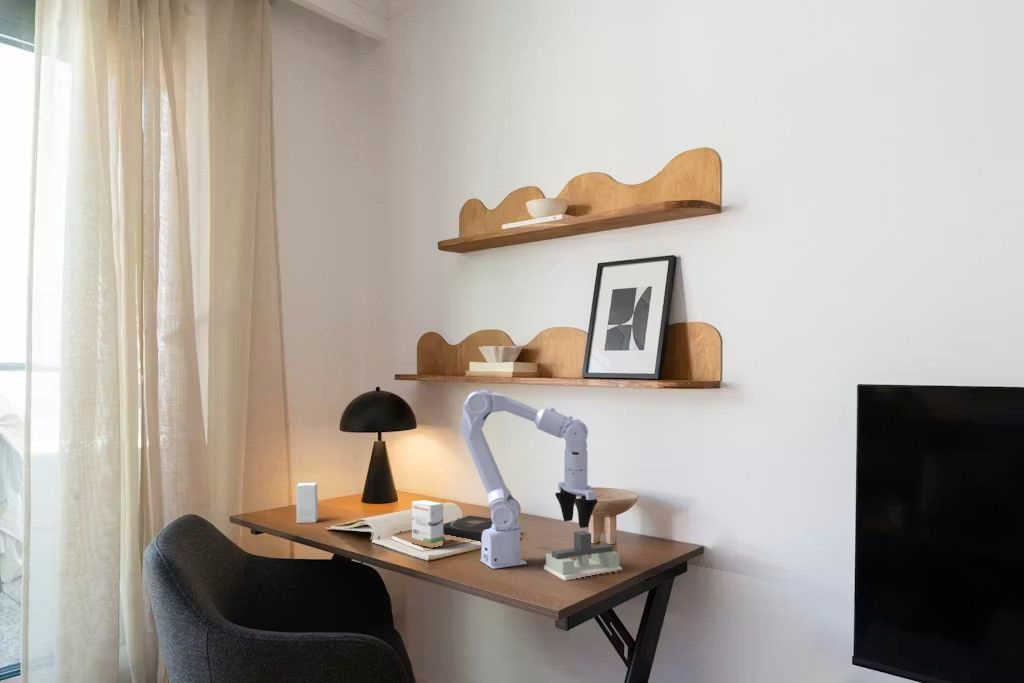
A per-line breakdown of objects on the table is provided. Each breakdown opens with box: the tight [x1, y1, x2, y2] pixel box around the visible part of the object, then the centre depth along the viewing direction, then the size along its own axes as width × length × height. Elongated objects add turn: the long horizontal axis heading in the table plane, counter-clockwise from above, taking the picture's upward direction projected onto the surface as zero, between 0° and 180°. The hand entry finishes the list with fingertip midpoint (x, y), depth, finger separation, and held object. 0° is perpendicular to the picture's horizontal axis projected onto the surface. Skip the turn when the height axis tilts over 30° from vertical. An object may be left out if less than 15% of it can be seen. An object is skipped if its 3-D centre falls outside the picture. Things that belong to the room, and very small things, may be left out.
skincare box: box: [295, 482, 319, 524], centre depth 218 cm, size 6×4×12 cm
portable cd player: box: [443, 515, 493, 542], centre depth 200 cm, size 16×17×4 cm
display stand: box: [543, 550, 623, 582], centre depth 167 cm, size 16×10×4 cm, turn 117°
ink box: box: [411, 499, 445, 543], centre depth 191 cm, size 9×5×12 cm, turn 47°
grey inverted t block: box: [551, 530, 614, 559], centre depth 167 cm, size 16×3×5 cm, turn 117°
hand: (575, 523), depth 171 cm, fingers open, 7 cm apart
